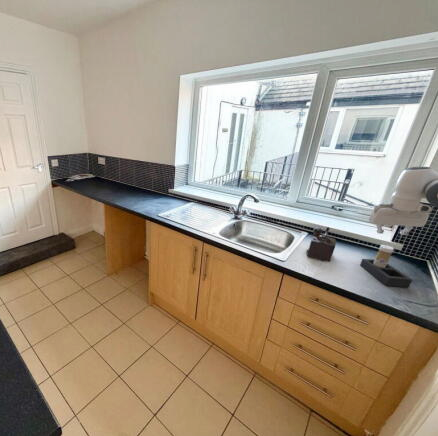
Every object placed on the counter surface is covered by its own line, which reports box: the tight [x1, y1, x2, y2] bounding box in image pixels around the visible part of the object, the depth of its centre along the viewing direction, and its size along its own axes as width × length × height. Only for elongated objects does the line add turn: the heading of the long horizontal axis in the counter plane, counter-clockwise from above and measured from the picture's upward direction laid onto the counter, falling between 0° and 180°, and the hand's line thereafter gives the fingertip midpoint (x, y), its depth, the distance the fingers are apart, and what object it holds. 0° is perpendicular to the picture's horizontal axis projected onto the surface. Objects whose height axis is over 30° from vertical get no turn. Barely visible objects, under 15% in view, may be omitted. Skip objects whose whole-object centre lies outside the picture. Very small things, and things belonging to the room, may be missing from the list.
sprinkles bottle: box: [373, 244, 395, 268], centre depth 113 cm, size 5×5×13 cm
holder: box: [359, 258, 413, 288], centre depth 112 cm, size 9×16×4 cm, turn 173°
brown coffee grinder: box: [306, 226, 337, 263], centre depth 125 cm, size 16×11×18 cm
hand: (391, 233), depth 109 cm, fingers open, 8 cm apart
